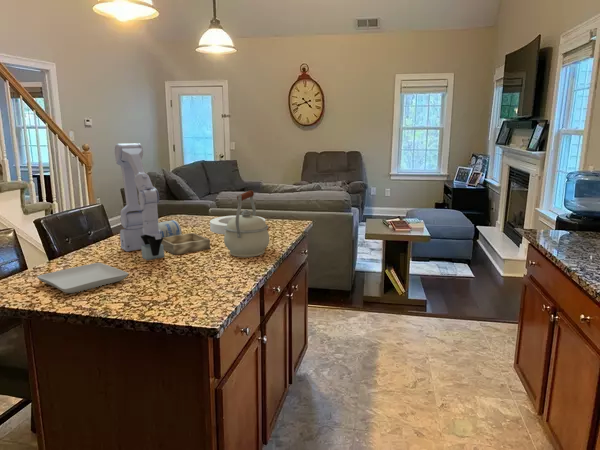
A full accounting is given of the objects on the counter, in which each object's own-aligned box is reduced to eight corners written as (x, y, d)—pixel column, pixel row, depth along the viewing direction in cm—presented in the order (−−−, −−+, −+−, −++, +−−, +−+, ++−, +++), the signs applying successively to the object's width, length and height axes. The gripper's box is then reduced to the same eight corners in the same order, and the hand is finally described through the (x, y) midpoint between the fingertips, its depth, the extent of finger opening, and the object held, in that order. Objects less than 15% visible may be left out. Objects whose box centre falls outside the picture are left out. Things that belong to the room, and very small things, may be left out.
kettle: (261, 261, 170) (259, 196, 165) (216, 258, 174) (213, 195, 168) (277, 245, 194) (276, 188, 189) (237, 243, 198) (235, 187, 192)
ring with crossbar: (231, 222, 247) (230, 213, 246) (275, 226, 234) (275, 217, 234) (198, 232, 222) (198, 222, 221) (246, 237, 210) (246, 227, 209)
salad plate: (99, 269, 161) (98, 260, 161) (131, 282, 148) (130, 272, 147) (36, 285, 145) (35, 275, 145) (65, 300, 132) (64, 289, 131)
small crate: (146, 260, 172) (145, 247, 171) (142, 257, 176) (141, 245, 175) (164, 257, 176) (163, 244, 175) (159, 254, 180) (158, 242, 179)
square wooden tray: (174, 254, 179) (173, 245, 178) (159, 247, 191) (158, 238, 191) (210, 248, 189) (209, 239, 188) (193, 241, 201) (193, 232, 200)
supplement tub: (185, 234, 199) (157, 241, 188) (175, 243, 205) (147, 250, 194) (176, 215, 201) (148, 221, 189) (166, 225, 207) (138, 231, 195)
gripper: (167, 221, 170) (170, 256, 172) (153, 216, 181) (155, 248, 184) (149, 224, 165) (152, 259, 168) (136, 218, 176) (138, 251, 179)
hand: (152, 253), depth 176 cm, fingers closed on small crate, 5 cm apart
